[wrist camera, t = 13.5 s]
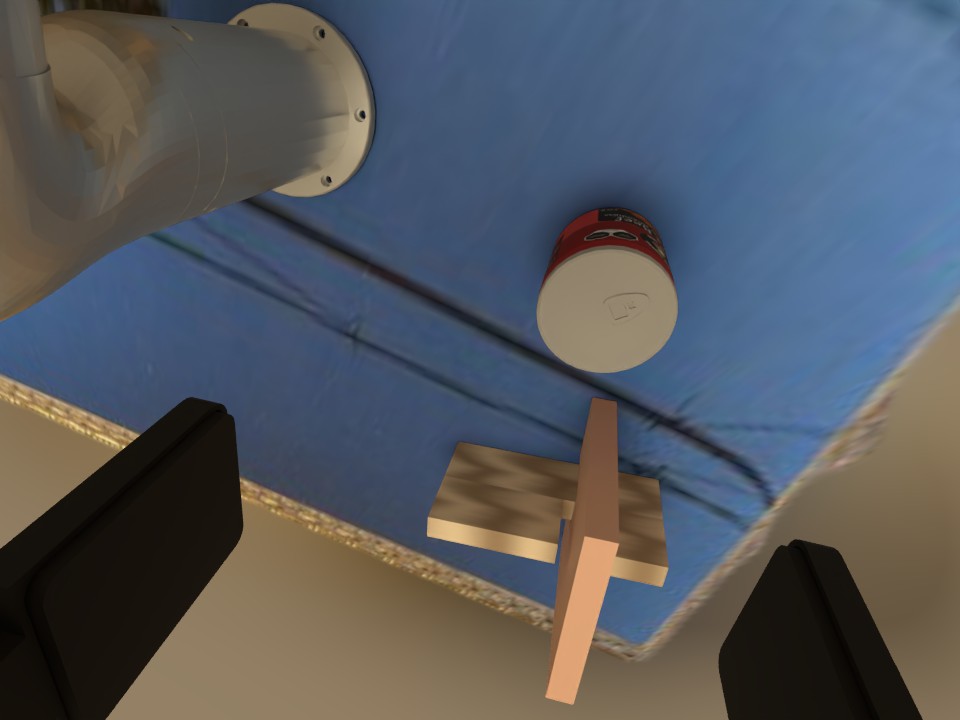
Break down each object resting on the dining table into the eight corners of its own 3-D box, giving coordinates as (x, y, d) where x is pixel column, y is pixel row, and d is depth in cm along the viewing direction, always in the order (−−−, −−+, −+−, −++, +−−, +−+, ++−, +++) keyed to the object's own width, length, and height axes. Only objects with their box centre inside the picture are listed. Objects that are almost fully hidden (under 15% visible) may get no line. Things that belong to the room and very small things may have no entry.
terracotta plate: (562, 536, 55) (545, 697, 41) (592, 397, 47) (584, 536, 33) (582, 541, 54) (573, 704, 40) (616, 401, 47) (619, 543, 33)
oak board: (457, 458, 53) (427, 535, 44) (458, 441, 52) (428, 516, 43) (653, 497, 50) (662, 586, 42) (658, 479, 49) (668, 567, 41)
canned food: (684, 265, 41) (707, 326, 31) (593, 325, 44) (588, 397, 35) (621, 180, 39) (624, 217, 29) (531, 250, 42) (508, 304, 33)
